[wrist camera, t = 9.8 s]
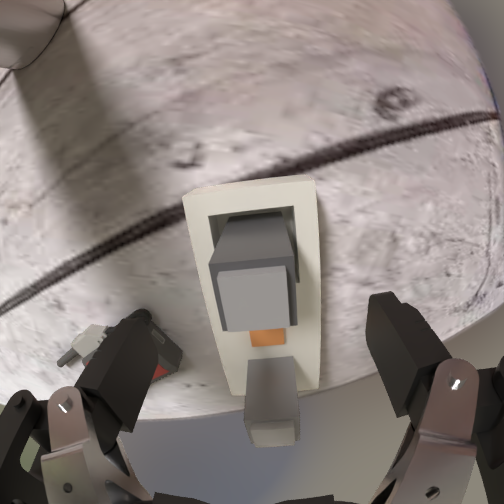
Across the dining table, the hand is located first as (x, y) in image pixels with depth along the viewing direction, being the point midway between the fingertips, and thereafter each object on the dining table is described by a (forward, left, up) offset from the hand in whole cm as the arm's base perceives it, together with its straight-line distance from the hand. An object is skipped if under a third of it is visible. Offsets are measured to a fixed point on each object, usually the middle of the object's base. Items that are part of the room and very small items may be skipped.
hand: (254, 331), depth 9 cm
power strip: (+5, 0, -12) cm, 13 cm away
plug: (0, 0, -11) cm, 11 cm away
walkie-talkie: (+13, -18, -13) cm, 26 cm away
